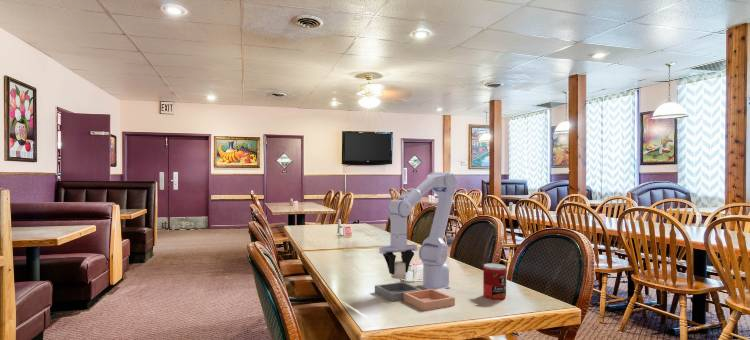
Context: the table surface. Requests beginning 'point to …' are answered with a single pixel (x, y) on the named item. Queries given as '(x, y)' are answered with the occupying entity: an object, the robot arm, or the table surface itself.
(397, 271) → the white rounded cylinder
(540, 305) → the table surface
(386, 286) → the bin
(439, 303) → the dump bin
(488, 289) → the canned food
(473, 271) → the table surface
